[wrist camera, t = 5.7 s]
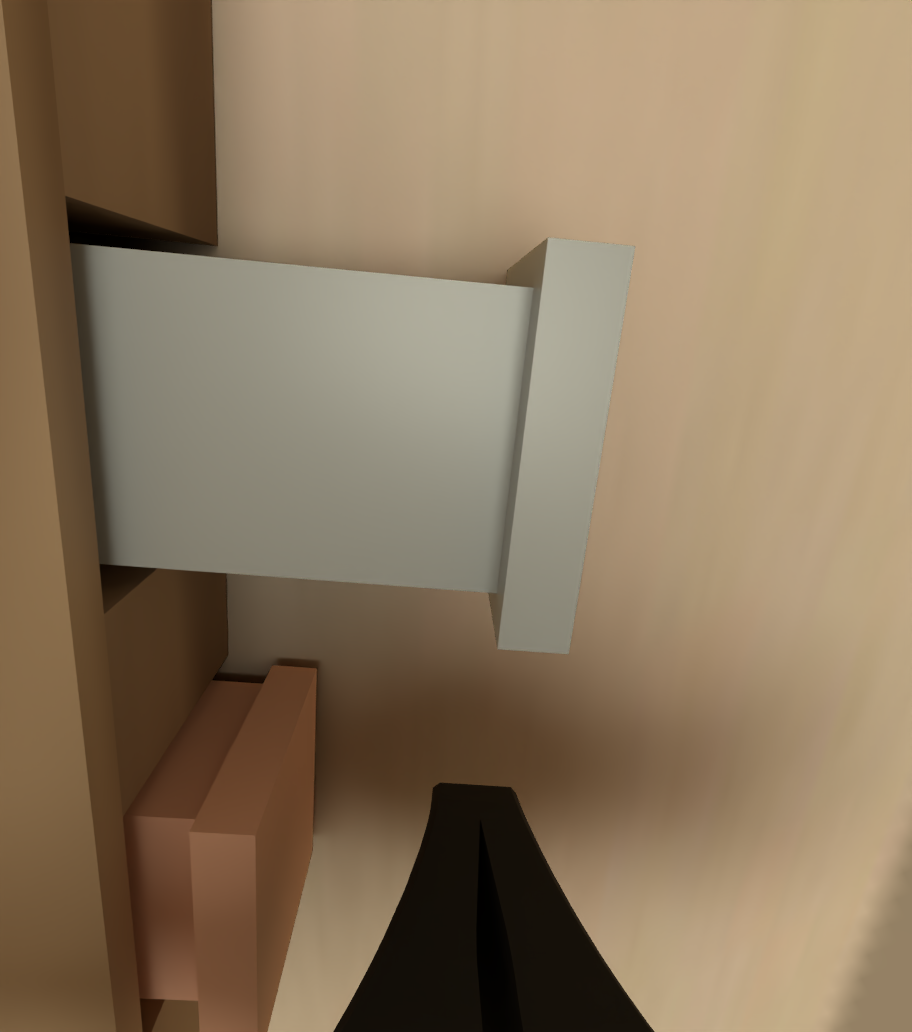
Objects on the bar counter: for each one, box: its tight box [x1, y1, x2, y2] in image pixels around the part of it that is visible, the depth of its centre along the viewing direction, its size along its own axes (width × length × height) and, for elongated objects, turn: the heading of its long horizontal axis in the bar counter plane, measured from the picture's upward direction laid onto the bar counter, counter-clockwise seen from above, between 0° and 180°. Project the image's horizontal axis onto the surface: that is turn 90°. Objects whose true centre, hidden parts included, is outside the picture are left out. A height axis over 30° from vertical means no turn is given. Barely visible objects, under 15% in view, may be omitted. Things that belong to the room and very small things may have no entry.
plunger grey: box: [70, 237, 635, 654], centre depth 8 cm, size 7×4×4 cm, turn 85°
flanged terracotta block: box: [123, 665, 317, 1032], centre depth 10 cm, size 7×4×4 cm, turn 85°
